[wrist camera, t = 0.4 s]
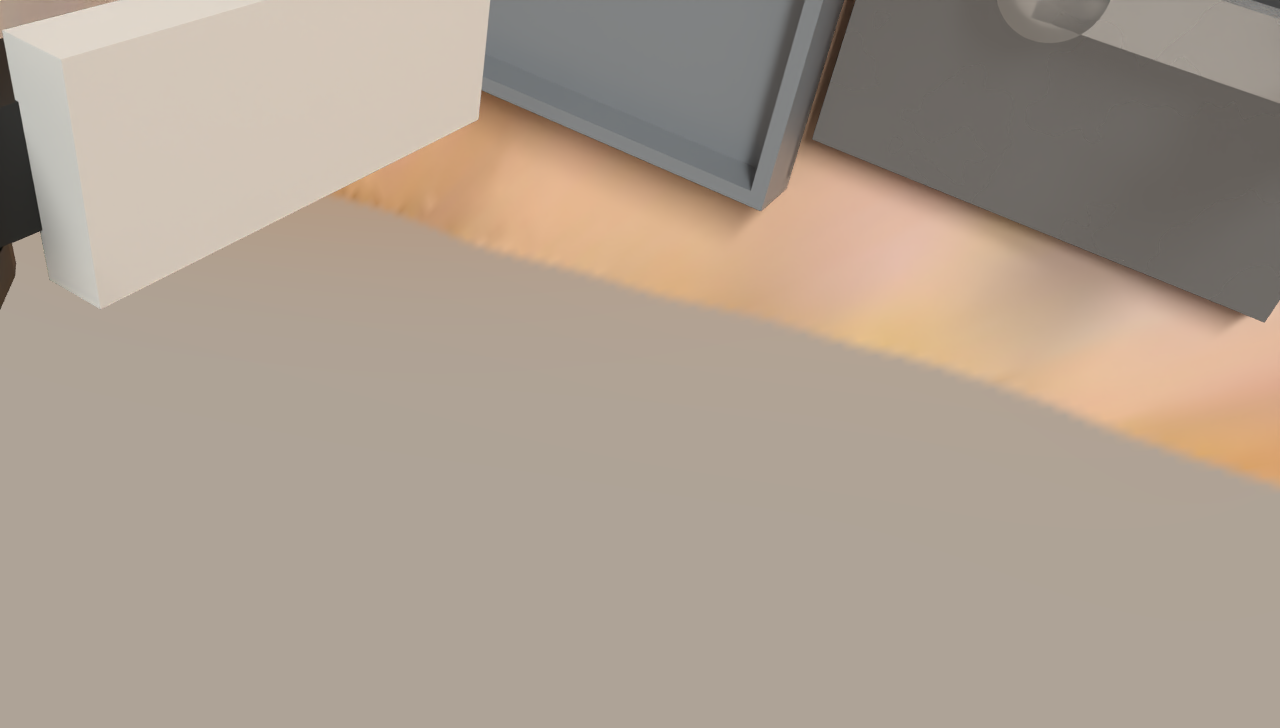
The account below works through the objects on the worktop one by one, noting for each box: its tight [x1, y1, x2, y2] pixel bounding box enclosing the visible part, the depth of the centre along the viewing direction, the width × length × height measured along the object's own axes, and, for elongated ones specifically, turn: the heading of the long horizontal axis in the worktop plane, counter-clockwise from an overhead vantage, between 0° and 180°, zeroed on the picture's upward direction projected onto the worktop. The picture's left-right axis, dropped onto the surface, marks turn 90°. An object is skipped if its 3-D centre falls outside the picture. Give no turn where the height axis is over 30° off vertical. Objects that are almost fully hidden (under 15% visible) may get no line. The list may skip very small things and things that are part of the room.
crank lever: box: [997, 0, 1280, 103], centre depth 27 cm, size 13×3×9 cm, turn 78°
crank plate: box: [812, 0, 1280, 323], centre depth 33 cm, size 12×16×1 cm
